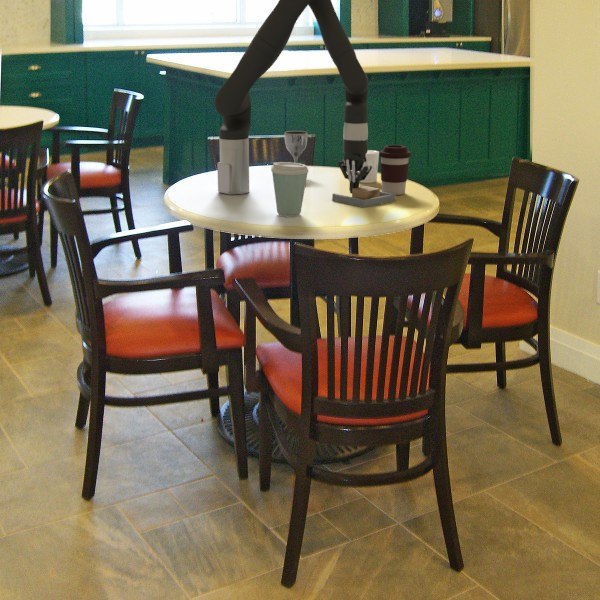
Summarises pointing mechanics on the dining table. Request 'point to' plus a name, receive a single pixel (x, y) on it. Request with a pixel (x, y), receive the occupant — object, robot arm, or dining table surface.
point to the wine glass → (295, 143)
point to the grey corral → (365, 203)
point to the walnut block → (365, 192)
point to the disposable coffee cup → (289, 187)
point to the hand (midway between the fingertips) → (354, 193)
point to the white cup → (372, 161)
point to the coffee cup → (394, 168)
